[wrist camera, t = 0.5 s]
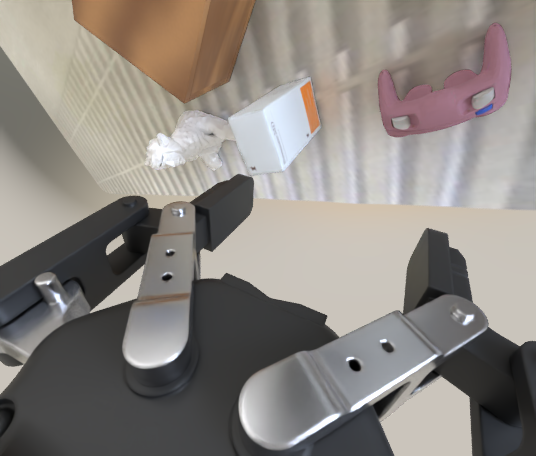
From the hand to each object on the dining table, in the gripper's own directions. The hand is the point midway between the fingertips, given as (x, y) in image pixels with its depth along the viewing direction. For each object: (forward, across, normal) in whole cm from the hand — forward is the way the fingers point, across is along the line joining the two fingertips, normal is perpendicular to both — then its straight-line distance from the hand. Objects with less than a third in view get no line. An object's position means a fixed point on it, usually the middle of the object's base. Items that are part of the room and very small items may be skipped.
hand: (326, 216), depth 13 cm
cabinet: (+22, +24, -10) cm, 33 cm away
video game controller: (+23, -4, -4) cm, 23 cm away
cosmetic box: (+23, +10, 0) cm, 25 cm away
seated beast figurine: (+24, +24, +7) cm, 35 cm away
